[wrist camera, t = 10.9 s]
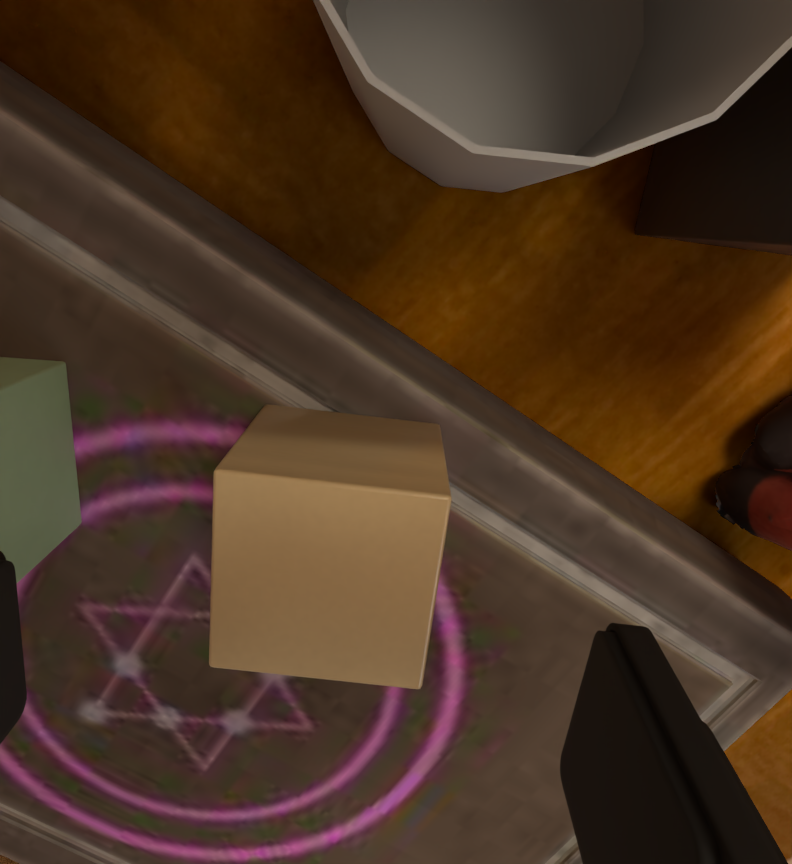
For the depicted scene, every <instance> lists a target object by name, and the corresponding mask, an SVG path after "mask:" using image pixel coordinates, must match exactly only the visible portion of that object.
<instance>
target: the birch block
mask: <svg viewBox="0 0 792 864" xmlns="http://www.w3.org/2000/svg"><path fill="white" fill-rule="evenodd" d="M451 501H452V498H451V492H450V485H449V479H448V473H447V466H446V460H445V454H444V447H443V441H442V435H441V428H440V425H438V424H433V423H424V422H416V421H407V420H399V419H390V418H381V417H373V416H364V415H355V414H347V413H338V412H329V411H321V410H312V409H303V408H295V407H286V406H278V405H269V404H267V405H264V407H263V408H262V409H261V411H260V412H259V413H258V414H257V416H256V417H255V418H254V420H253V421H252V422H251V423H250V425H249V426H248V427H247V429H246V430H245V431H244V432H243V434H242V435H241V436H240V438H239V439H238V440H237V442H236V443H235V444H234V445H233V447H232V448H231V449H230V451H229V452H228V453H227V454H226V456H225V457H224V458H223V460H222V461H221V462H220V463H219V465H218V466H217V467H216V469H215V470H214V474H213V514H212V555H211V595H210V636H209V665H210V666H211V667H214V668H223V669H233V670H242V671H251V672H261V673H270V674H279V675H289V676H298V677H307V678H317V679H326V680H335V681H345V682H354V683H363V684H373V685H382V686H391V687H401V688H410V689H420V688H421V686H422V685H423V678H424V672H425V665H426V659H427V653H428V646H429V640H430V634H431V627H432V621H433V615H434V608H435V602H436V596H437V589H438V583H439V577H440V570H441V564H442V558H443V551H444V545H445V539H446V532H447V526H448V520H449V513H450V507H451Z"/></svg>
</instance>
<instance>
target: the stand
mask: <svg viewBox="0 0 792 864" xmlns="http://www.w3.org/2000/svg"><path fill="white" fill-rule="evenodd" d="M634 233H635V235H641V236H648V237H656V238H664V239H671V240H679V241H686V242H694V243H701V244H709V245H717V246H724V247H732V248H739V249H747V250H755V251H762V252H770V253H777V254H785V255H792V48H790V49H789V50H788V51H787V52H786V53H785V54H784V55H783V56H782V57H781V58H780V59H779V60H778V61H777V62H776V63H775V64H774V65H773V66H772V67H771V68H770V69H769V70H768V71H767V72H766V73H765V74H764V75H763V76H761V77H760V78H759V79H758V80H757V81H756V82H755V83H754V84H753V85H752V86H751V87H750V88H749V89H748V90H747V91H746V92H745V93H744V94H743V95H742V96H741V97H740V98H739V99H738V100H737V101H736V102H735V103H734V104H733V105H731V106H730V107H729V108H728V109H727V110H726V111H725V112H724V113H723V114H722V115H721V116H720V117H719V118H718V119H717V120H715V121H713V122H710V123H707V124H705V125H702V126H699V127H697V128H694V129H691V130H689V131H686V132H684V133H681V134H678V135H676V136H673V137H670V138H668V139H665V140H662V141H660V142H657V143H655V147H654V151H653V155H652V160H651V164H650V168H649V172H648V177H647V181H646V185H645V189H644V194H643V198H642V202H641V206H640V211H639V215H638V219H637V223H636V228H635V232H634Z"/></svg>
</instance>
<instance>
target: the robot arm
mask: <svg viewBox="0 0 792 864" xmlns="http://www.w3.org/2000/svg"><path fill="white" fill-rule="evenodd" d="M26 700H27V689H26V679H25V668H24V658H23V647H22V636H21V626H20V615H19V605H18V594H17V583H16V573H15V567H14V564H13V563H12V562H11V561H7V560H6V557H5V555H4V554H3V552H1V551H0V744H1V743H2V741H3V740H4V739H5V737H6V736H7V735H8V734H9V732H10V731H11V730H12V728H13V727H14V726H15V724H16V723H17V722H18V720H19V719H20V717H21V715H22V713H23V711H24V708H25V705H26ZM560 776H561V782H562V786H563V790H564V794H565V798H566V801H567V805H568V809H569V813H570V817H571V820H572V824H573V828H574V832H575V836H576V840H577V843H578V847H579V851H580V855H581V859H582V862H583V864H788V863H787V861H786V859H785V857H784V856H783V854H782V852H781V850H780V849H779V847H778V845H777V843H776V842H775V840H774V838H773V836H772V835H771V833H770V831H769V829H768V828H767V826H766V824H765V823H764V821H763V819H762V817H761V816H760V814H759V812H758V810H757V809H756V807H755V805H754V803H753V802H752V800H751V798H750V796H749V795H748V793H747V791H746V789H745V788H744V786H743V784H742V782H741V781H740V779H739V777H738V775H737V774H736V772H735V770H734V769H733V767H732V765H731V763H730V762H729V760H728V758H727V756H726V755H725V753H724V751H723V749H722V748H721V746H720V744H719V742H718V741H717V739H716V737H715V735H714V734H713V732H712V731H711V729H710V728H709V727H708V725H707V724H706V723H705V722H703V721H702V720H701V718H700V717H699V715H698V713H697V711H696V710H695V708H694V706H693V704H692V703H691V701H690V699H689V697H688V696H687V694H686V692H685V690H684V688H683V687H682V685H681V683H680V681H679V680H678V678H677V676H676V674H675V673H674V671H673V669H672V667H671V665H670V664H669V662H668V660H667V658H666V657H665V655H664V653H663V651H662V650H661V648H660V646H659V644H658V643H657V641H656V639H655V637H654V635H653V634H652V632H651V631H650V629H649V628H647V627H644V626H636V625H627V624H619V623H611V624H609V625H608V626H607V628H606V631H600V630H599V631H597V632H596V634H595V636H594V639H593V642H592V646H591V650H590V653H589V657H588V660H587V664H586V668H585V671H584V675H583V678H582V682H581V686H580V689H579V693H578V696H577V700H576V703H575V707H574V711H573V714H572V718H571V721H570V725H569V729H568V732H567V736H566V739H565V743H564V747H563V750H562V754H561V759H560Z"/></svg>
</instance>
